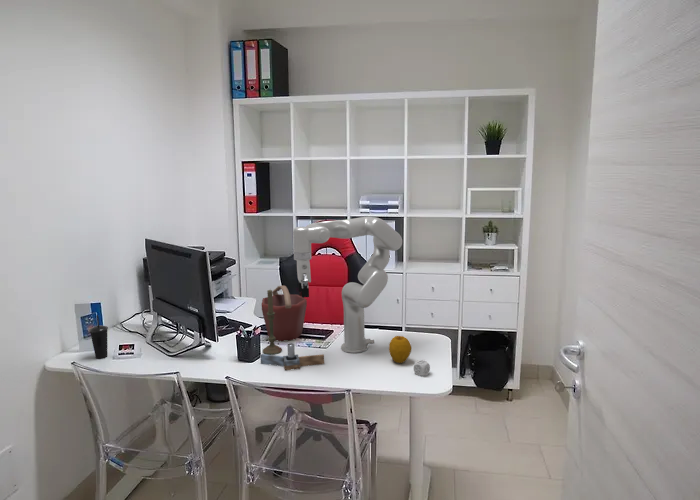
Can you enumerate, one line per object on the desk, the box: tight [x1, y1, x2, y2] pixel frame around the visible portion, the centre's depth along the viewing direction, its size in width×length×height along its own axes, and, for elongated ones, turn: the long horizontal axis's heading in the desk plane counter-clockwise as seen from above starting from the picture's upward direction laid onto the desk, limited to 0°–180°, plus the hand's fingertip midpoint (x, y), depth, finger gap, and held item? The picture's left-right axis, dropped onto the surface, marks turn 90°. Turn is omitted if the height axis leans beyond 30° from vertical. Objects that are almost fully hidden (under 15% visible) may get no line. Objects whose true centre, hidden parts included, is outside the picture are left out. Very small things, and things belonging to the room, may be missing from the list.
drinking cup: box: [88, 314, 109, 360], centre depth 230 cm, size 8×8×20 cm
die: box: [413, 359, 431, 377], centre depth 209 cm, size 5×5×5 cm
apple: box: [388, 335, 412, 364], centre depth 221 cm, size 10×10×12 cm
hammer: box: [259, 353, 325, 371], centre depth 221 cm, size 27×11×4 cm, turn 102°
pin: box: [286, 343, 296, 360], centre depth 218 cm, size 3×3×10 cm
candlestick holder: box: [262, 289, 283, 355], centre depth 234 cm, size 9×9×30 cm
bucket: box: [261, 285, 308, 342], centre depth 255 cm, size 24×22×25 cm
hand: (303, 294), depth 220 cm, fingers open, 9 cm apart
